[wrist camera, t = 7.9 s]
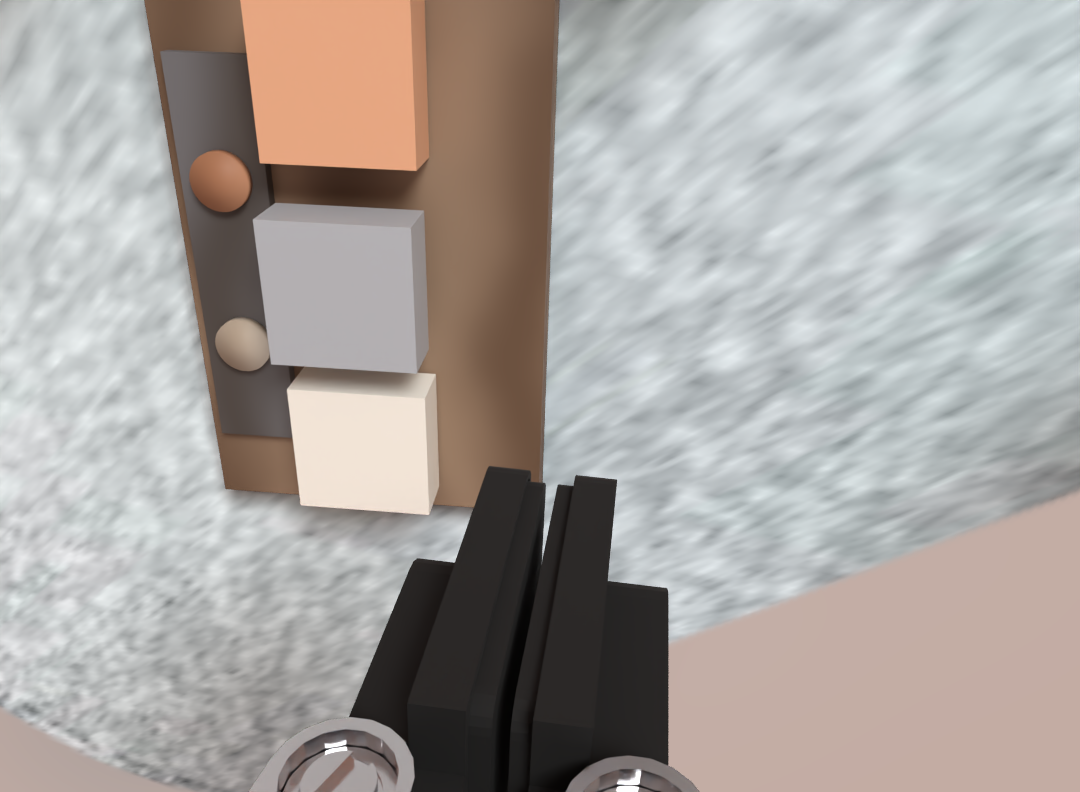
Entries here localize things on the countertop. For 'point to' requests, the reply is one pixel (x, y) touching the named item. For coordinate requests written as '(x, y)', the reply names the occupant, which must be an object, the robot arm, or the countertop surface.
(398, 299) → the grey key
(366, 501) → the cream key
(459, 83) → the keypad board
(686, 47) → the countertop surface
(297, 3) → the terracotta key
